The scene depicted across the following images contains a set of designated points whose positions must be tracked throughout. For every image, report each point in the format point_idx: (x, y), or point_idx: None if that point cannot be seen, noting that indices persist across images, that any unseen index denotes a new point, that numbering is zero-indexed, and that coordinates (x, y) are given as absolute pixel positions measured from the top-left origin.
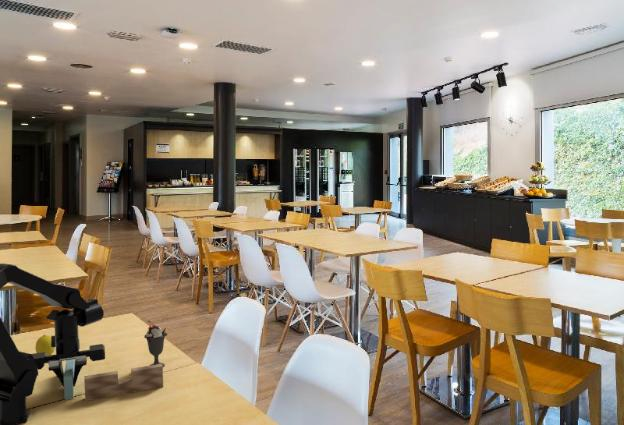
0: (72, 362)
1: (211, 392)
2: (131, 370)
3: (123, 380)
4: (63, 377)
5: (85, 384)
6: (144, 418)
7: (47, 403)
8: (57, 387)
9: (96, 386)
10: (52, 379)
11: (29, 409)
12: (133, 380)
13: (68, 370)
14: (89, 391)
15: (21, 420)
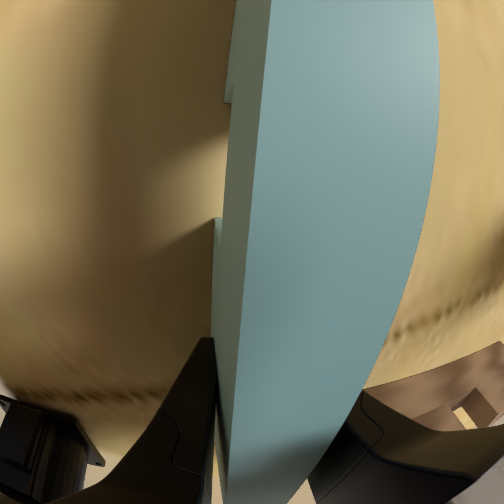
0: (419, 166)
1: None
2: (487, 426)
3: (459, 396)
4: (212, 458)
5: None
6: None
7: (126, 394)
8: (142, 187)
9: None
10: (115, 2)
11: (76, 427)
12: (466, 407)
13: (275, 462)
14: None
15: (89, 461)
